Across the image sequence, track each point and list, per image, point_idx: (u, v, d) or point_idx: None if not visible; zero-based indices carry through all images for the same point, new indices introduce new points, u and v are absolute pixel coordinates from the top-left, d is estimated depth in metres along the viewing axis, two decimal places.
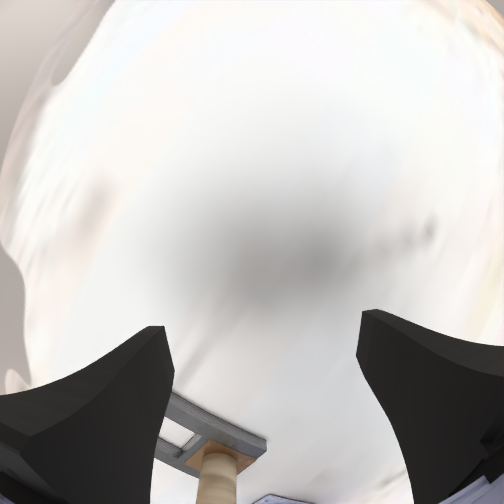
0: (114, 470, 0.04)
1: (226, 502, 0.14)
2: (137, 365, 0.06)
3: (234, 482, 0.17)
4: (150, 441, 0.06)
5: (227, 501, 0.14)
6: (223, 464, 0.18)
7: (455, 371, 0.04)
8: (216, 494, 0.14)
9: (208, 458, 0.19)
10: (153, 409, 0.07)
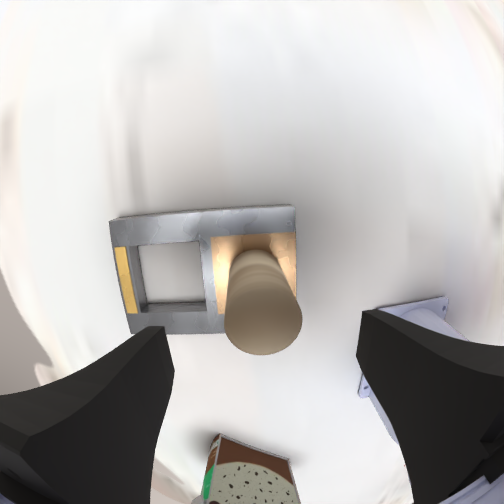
0: (114, 470, 0.04)
1: (261, 286, 0.11)
2: (137, 365, 0.06)
3: (273, 267, 0.14)
4: (150, 441, 0.06)
5: (263, 284, 0.11)
6: (247, 258, 0.15)
7: (455, 371, 0.04)
8: (241, 286, 0.11)
9: (229, 270, 0.16)
10: (153, 409, 0.07)
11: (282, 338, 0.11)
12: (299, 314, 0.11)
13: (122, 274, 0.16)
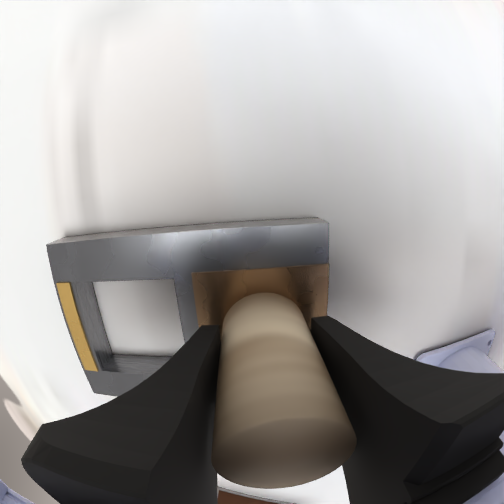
0: (201, 482, 0.04)
1: (286, 412, 0.04)
2: (207, 366, 0.07)
3: (299, 339, 0.07)
4: None
5: (290, 408, 0.04)
6: (252, 313, 0.09)
7: (382, 395, 0.04)
8: (243, 399, 0.05)
9: (223, 326, 0.10)
10: None
11: (316, 471, 0.05)
12: (352, 442, 0.05)
13: (70, 320, 0.10)
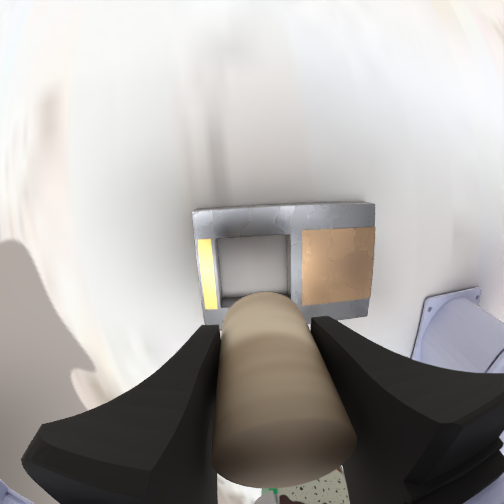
0: (201, 482, 0.04)
1: (286, 412, 0.04)
2: (207, 366, 0.07)
3: (299, 339, 0.07)
4: None
5: (289, 407, 0.04)
6: (252, 312, 0.09)
7: (382, 396, 0.04)
8: (242, 399, 0.05)
9: (223, 326, 0.10)
10: None
11: (316, 470, 0.05)
12: (352, 442, 0.05)
13: (204, 268, 0.17)
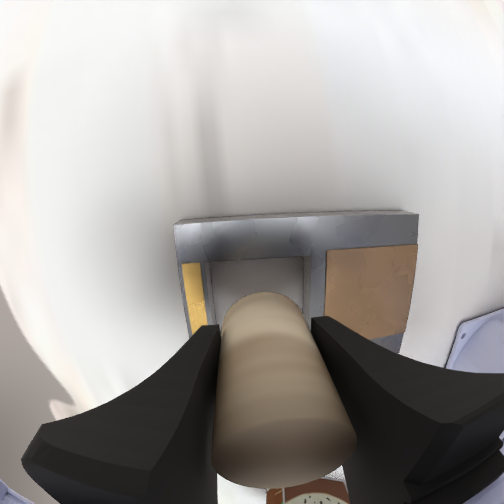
0: (201, 482, 0.04)
1: (286, 412, 0.04)
2: (207, 367, 0.07)
3: (299, 338, 0.07)
4: None
5: (290, 407, 0.04)
6: (252, 312, 0.09)
7: (382, 396, 0.04)
8: (242, 399, 0.05)
9: (223, 326, 0.10)
10: None
11: (316, 471, 0.05)
12: (352, 442, 0.05)
13: (192, 302, 0.12)
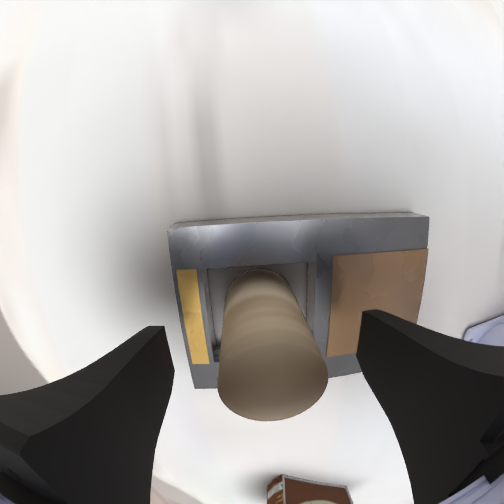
0: (114, 470, 0.04)
1: (272, 338, 0.07)
2: (137, 365, 0.06)
3: (285, 299, 0.10)
4: (150, 441, 0.06)
5: (274, 336, 0.07)
6: (249, 283, 0.11)
7: (455, 370, 0.04)
8: (241, 334, 0.08)
9: (226, 296, 0.12)
10: (153, 409, 0.07)
11: (299, 402, 0.07)
12: (325, 373, 0.07)
13: (188, 311, 0.11)
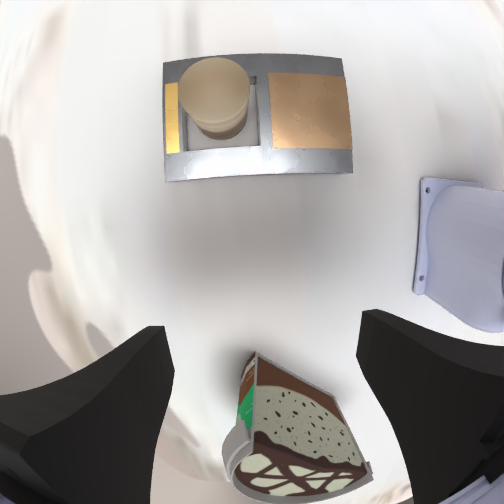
0: (114, 470, 0.04)
1: None
2: (137, 365, 0.06)
3: None
4: (151, 441, 0.06)
5: (214, 59, 0.10)
6: None
7: (455, 370, 0.04)
8: None
9: None
10: (153, 409, 0.07)
11: (231, 101, 0.11)
12: (246, 79, 0.10)
13: (169, 109, 0.14)
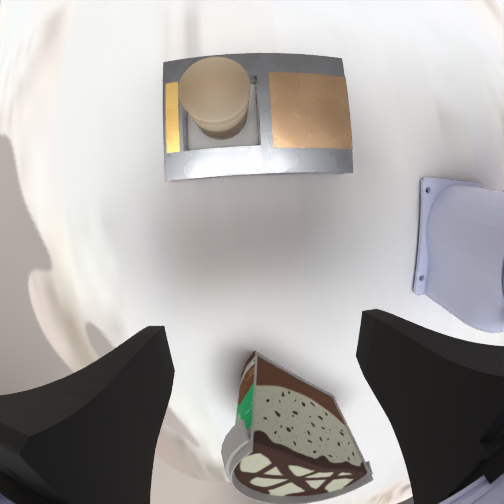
0: (114, 470, 0.04)
1: None
2: (137, 365, 0.06)
3: None
4: (150, 441, 0.06)
5: (215, 58, 0.10)
6: None
7: (455, 371, 0.04)
8: None
9: None
10: (153, 409, 0.07)
11: (231, 100, 0.11)
12: (247, 78, 0.10)
13: (169, 108, 0.14)
